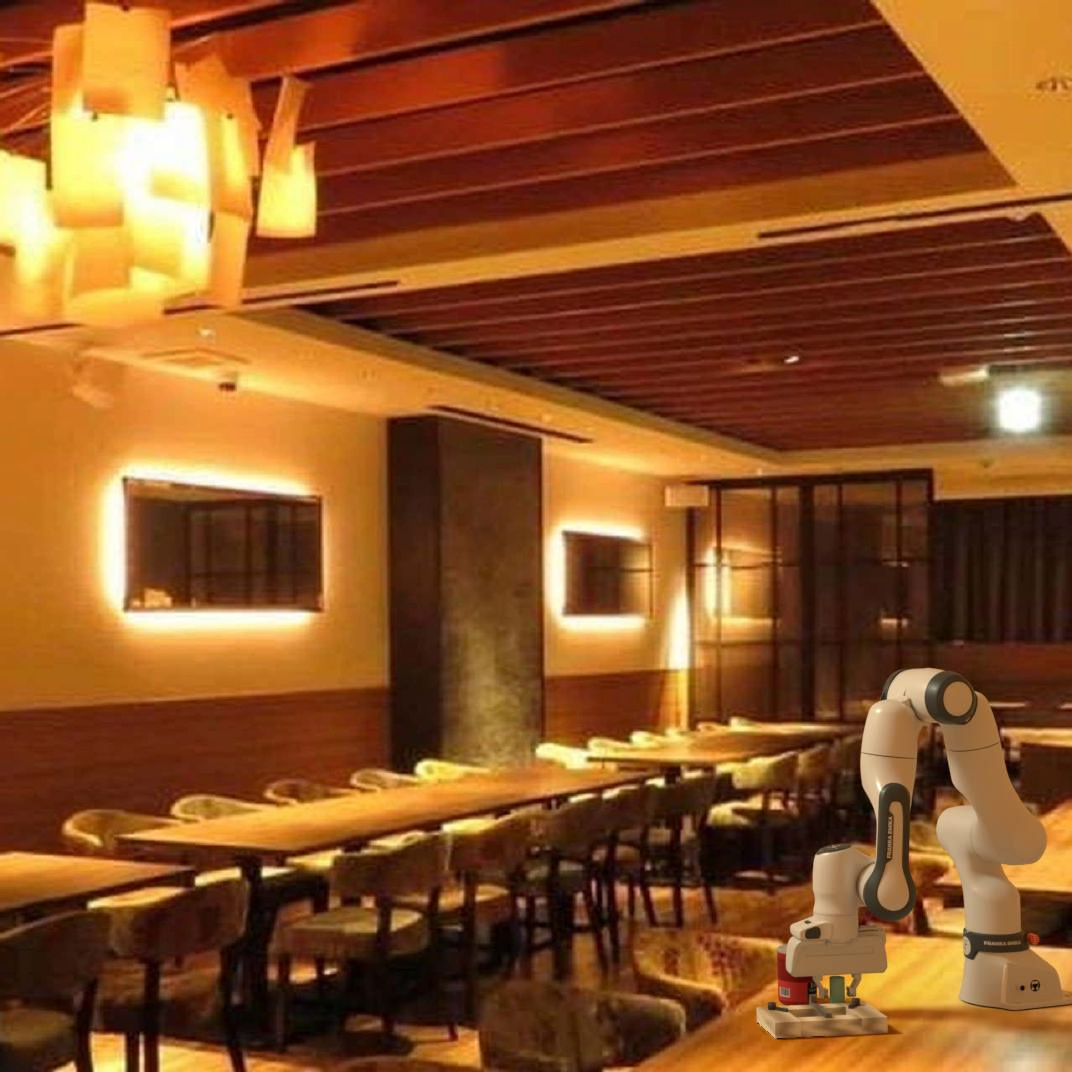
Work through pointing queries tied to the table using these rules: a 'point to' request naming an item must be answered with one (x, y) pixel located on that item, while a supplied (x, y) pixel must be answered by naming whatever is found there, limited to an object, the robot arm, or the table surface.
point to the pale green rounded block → (837, 989)
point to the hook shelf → (821, 1019)
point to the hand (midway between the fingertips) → (837, 997)
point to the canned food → (792, 983)
